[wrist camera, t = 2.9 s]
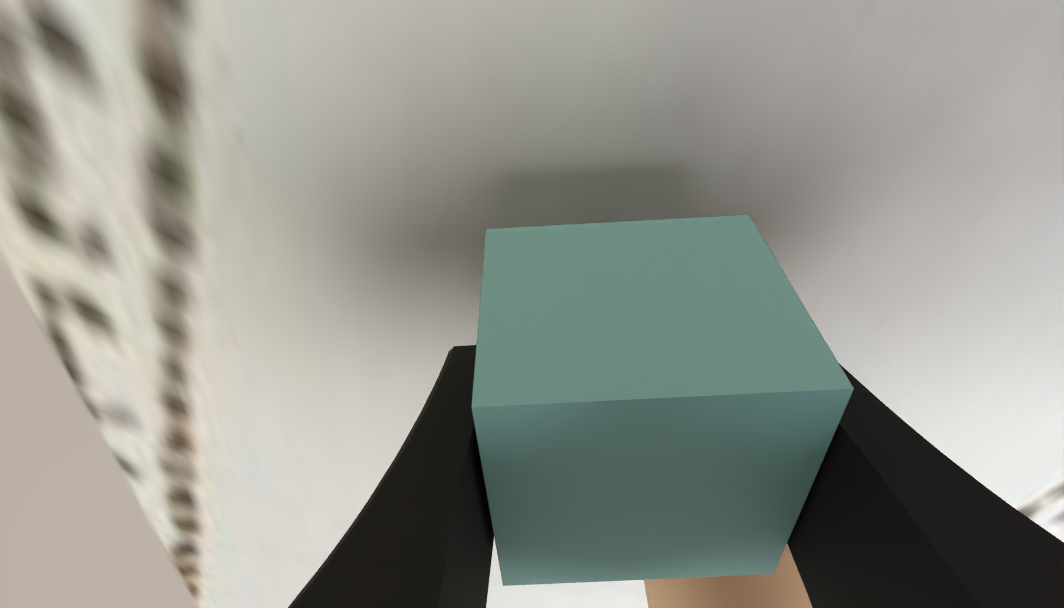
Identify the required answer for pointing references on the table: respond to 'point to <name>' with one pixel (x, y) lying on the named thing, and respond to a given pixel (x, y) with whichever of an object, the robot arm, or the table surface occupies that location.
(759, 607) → the tower top
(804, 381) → the cube
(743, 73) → the table surface
